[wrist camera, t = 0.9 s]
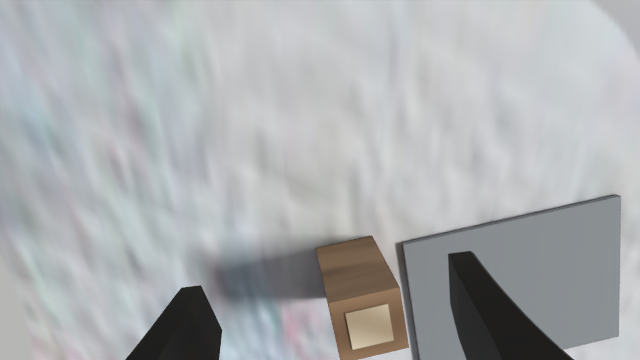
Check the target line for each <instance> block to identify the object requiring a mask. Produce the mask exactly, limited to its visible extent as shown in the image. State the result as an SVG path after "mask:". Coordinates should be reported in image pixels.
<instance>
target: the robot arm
mask: <svg viewBox="0 0 640 360" xmlns="http://www.w3.org/2000/svg"><path fill="white" fill-rule="evenodd" d="M448 267H449V290H450V305H451V309H452V313H453V318H454V322H455V326H456V329H457V333H458V337H459V340H460V343H461V346H462V349H463V351H464V354H465V357H466V360H574V359H572V358H571V357H570V356H569V355H568V354H567V353H566V352H564V351H563V350H562V349H561V348H560V347H559V346H558V345H557V344H556V343H554V342H553V341H552V340H551V339H550V338H549V337H548V336H547V335H546V334H545V333H544V332H543V331H542V330H541V329H540V328H539V327H538V326H537V325H536V324H535V323H534V322H533V321H532V320H531V319H530V318H529V317H528V316H527V315H526V314H525V313H524V312H523V311H522V310H521V309H520V308H519V307H518V306H517V305H516V303H515V302H514V301H513V300H512V299H511V298H510V297H509V296H508V295H507V294H506V292H505V291H504V290H503V289H502V288H501V287H500V286H499V284H498V283H497V282H496V281H495V280H494V278H493V277H492V276H491V275H490V274H489V272H488V271H487V270H486V268H485V267H484V266H483V265H482V263H481V262H480V261H479V259H478V258H477V256H476V255H475V254H474V253H473V252H472V251H465V252H457V253H449V254H448ZM221 335H222V329H221V327H220V325H219V323H218V320H217V318H216V316H215V314H214V312H213V310H212V308H211V306H210V304H209V301H208V299H207V297H206V295H205V293H204V291H203V289H202V287H201V285H200V286H192V287H185V288H181V289H180V290H179V292H178V293H177V294H176V295H175V297H174V298H173V299H172V301H171V302H170V303H169V305H168V306H167V307H166V309H165V310H164V311H163V313H162V314H161V315H160V317H159V318H158V319H157V320H156V322H155V323H154V324H153V326H152V327H151V328H150V330H149V331H148V332H147V333H146V335H145V336H144V337H143V339H142V340H141V341H140V342H139V344H138V345H137V346H136V347H135V349H134V350H133V351H132V352H131V354H130V355H129V356H128V357H127V358H126V360H219V354H220V345H221Z"/></svg>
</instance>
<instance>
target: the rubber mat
mask: <svg viewBox="0 0 640 360" xmlns="http://www.w3.org/2000/svg"><path fill="white" fill-rule="evenodd" d="M620 229H621V196H619V195H613V196H608V197H604V198H599V199H595V200H590V201H586V202H581V203H577V204H572V205H568V206H563V207H559V208H555V209H550V210H546V211H541V212H537V213H532V214H528V215H523V216H519V217H514V218H510V219H505V220H501V221H496V222H492V223H487V224H483V225H478V226H474V227H469V228H465V229H460V230H456V231H452V232H447V233H443V234H438V235H434V236H429V237H425V238H420V239H416V240H411V241H407V242H402V247H403V254H404V260H405V267H406V274H407V281H408V287H409V294H410V301H411V308H412V314H413V321H414V328H415V335H416V341H417V348H418V355H419V360H466V357H465V354H464V351H463V349H462V346H461V343H460V340H459V337H458V333H457V329H456V326H455V322H454V318H453V313H452V309H451V305H450V290H449V267H448V254H449V253H457V252H465V251H472V252H473V253H474V254H475V255H476V256H477V258H478V259H479V261H480V262H481V263H482V265H483V266H484V267H485V268H486V270H487V271H488V272H489V274H490V275H491V276H492V277H493V278H494V280H495V281H496V282H497V283H498V284H499V286H500V287H501V288H502V289H503V290H504V291H505V292H506V294H507V295H508V296H509V297H510V298H511V299H512V300H513V301H514V302H515V303H516V305H517V306H518V307H519V308H520V309H521V310H522V311H523V312H524V313H525V314H526V315H527V316H528V317H529V318H530V319H531V320H532V321H533V322H534V323H535V324H536V325H537V326H538V327H539V328H540V329H541V330H542V331H543V332H544V333H545V334H546V335H547V336H548V337H549V338H550V339H551V340H552V341H553V342H554V343H556V344H557V345H558V346H559V347H560V348H561V349H562V350H563V349H568V348H572V347H576V346H580V345H584V344H589V343H593V342H597V341H601V340H605V339H610V338H614V337H618V336H619V290H620Z"/></svg>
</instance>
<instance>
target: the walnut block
mask: <svg viewBox="0 0 640 360" xmlns="http://www.w3.org/2000/svg"><path fill="white" fill-rule="evenodd" d="M316 251H317V256H318V260H319V265H320V270H321V274H322V279H323V284H324V288H325V293H326V298H327V302H328V307H329V311H330V316H331V320H332V325H333V329H334V334H335V338H336V343H337V347H338V352H339V357H340V360H358V359H362V358H366V357H371V356H375V355H379V354H383V353H388V352H392V351H396V350H400V349H405V348H409V344H408V338H407V332H406V325H405V319H404V312H403V306H402V299H401V293H400V287H399V285H398V283H397V281H396V280H395V278H394V276H393V274H392V272H391V270H390V268H389V266H388V265H387V263H386V261H385V259H384V257H383V255H382V253H381V252H380V250H379V248H378V246H377V244H376V242H375V240H374V238H373V237H372V236H368V237H364V238H359V239H355V240H350V241H346V242H341V243H337V244H332V245H328V246H323V247H319V248H316Z"/></svg>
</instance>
